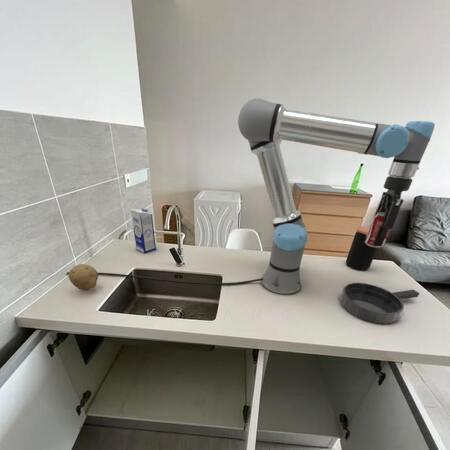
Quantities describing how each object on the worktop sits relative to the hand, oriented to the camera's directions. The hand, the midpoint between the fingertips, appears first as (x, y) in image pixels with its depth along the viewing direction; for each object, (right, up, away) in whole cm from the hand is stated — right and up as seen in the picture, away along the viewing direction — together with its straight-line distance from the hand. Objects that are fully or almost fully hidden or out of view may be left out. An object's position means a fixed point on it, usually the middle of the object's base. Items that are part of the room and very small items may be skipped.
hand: (374, 241), depth 93 cm
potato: (-108, -18, -4) cm, 110 cm away
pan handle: (+9, -21, -2) cm, 23 cm away
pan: (-5, -25, -5) cm, 26 cm away
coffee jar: (+6, -8, +24) cm, 26 cm away
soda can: (0, -1, +1) cm, 2 cm away
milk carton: (-97, +1, +28) cm, 101 cm away
